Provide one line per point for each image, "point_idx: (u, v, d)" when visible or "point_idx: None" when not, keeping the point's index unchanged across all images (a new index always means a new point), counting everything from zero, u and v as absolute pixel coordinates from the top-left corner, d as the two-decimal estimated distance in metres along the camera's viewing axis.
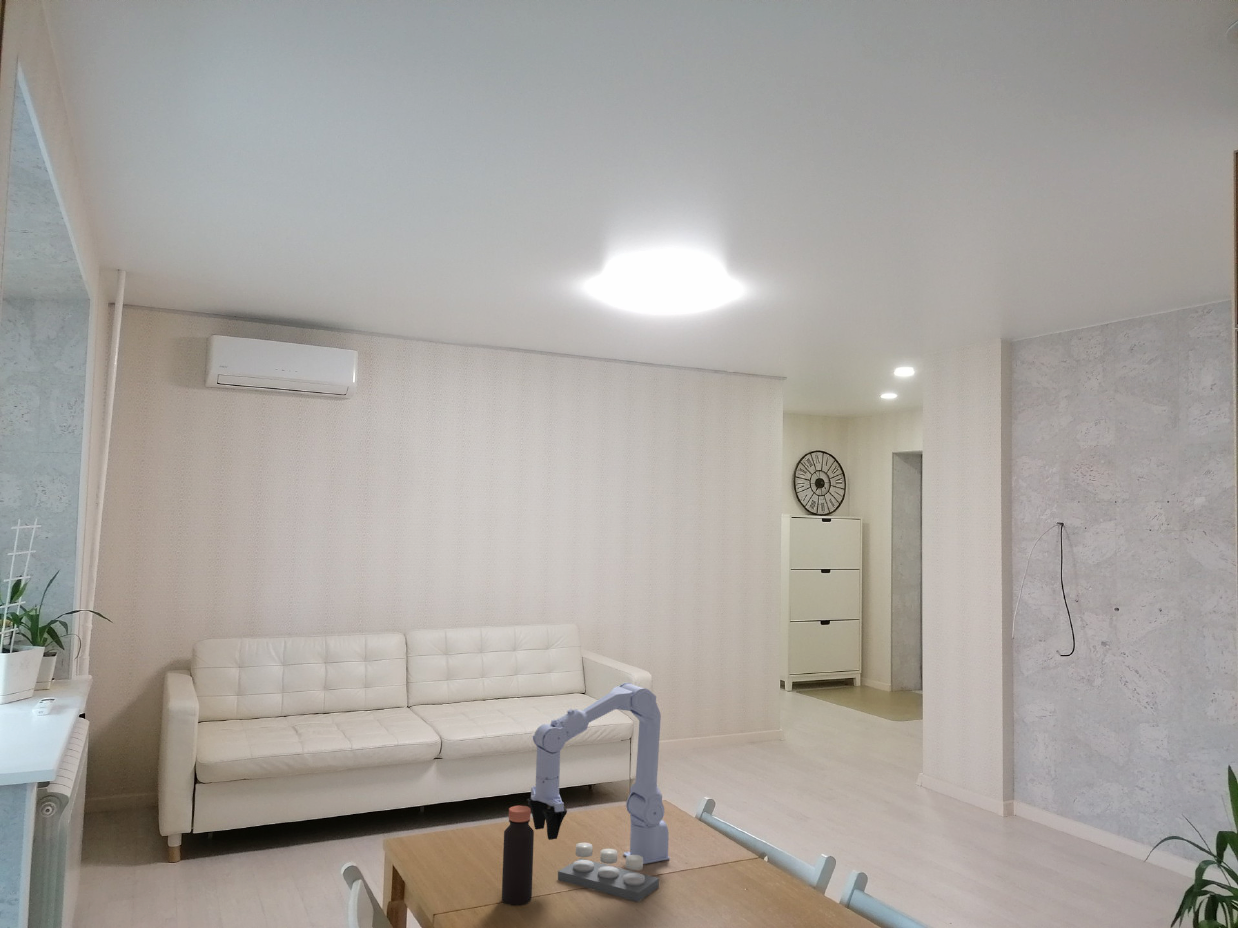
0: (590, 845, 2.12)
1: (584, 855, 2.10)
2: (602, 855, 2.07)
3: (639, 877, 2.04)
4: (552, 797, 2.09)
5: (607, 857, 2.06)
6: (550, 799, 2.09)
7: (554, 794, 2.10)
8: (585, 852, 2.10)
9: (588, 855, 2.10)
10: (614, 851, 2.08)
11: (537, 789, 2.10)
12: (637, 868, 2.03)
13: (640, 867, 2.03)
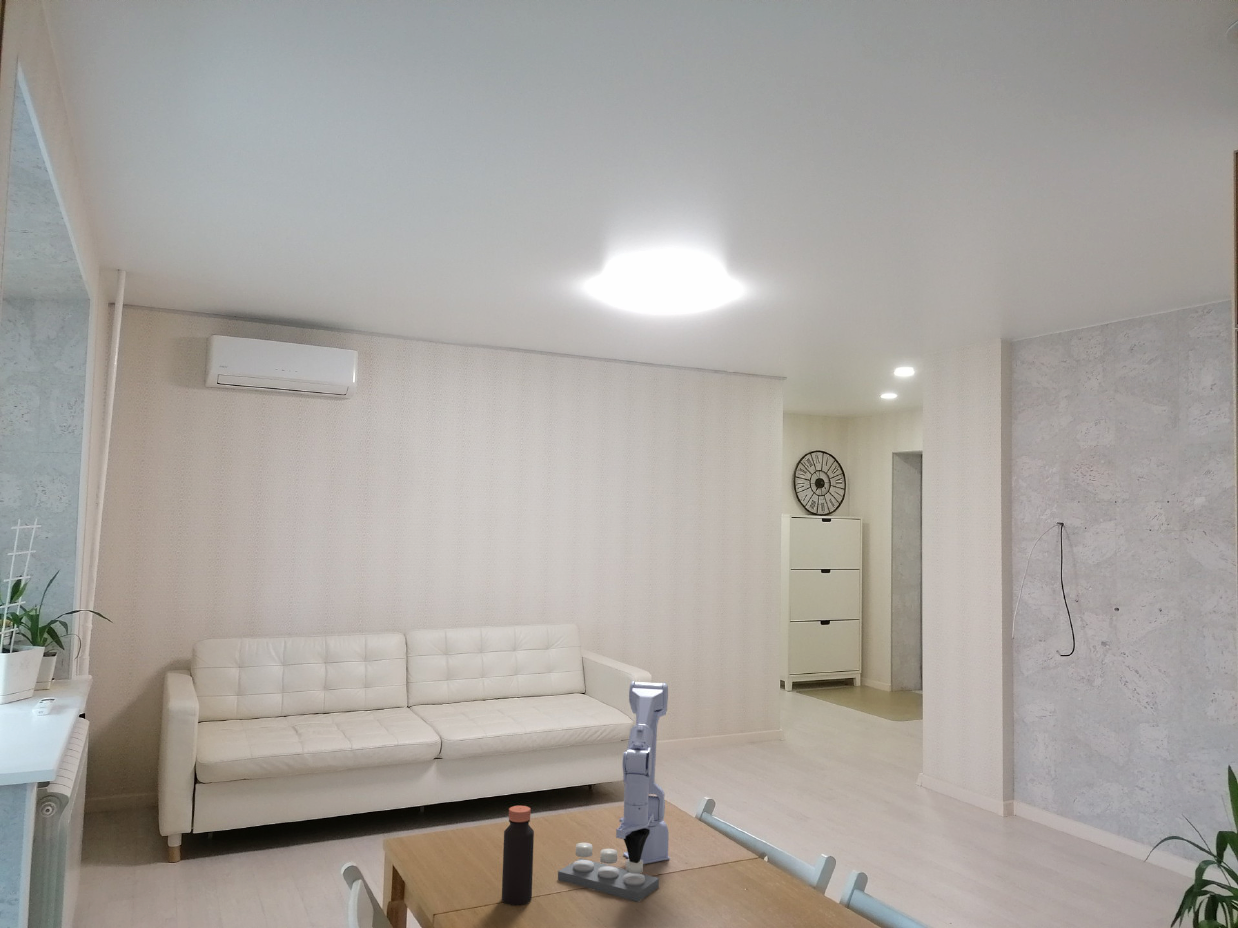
0: (590, 845, 2.12)
1: (584, 855, 2.10)
2: (602, 855, 2.07)
3: (639, 877, 2.04)
4: (629, 824, 2.03)
5: (607, 857, 2.06)
6: (627, 825, 2.03)
7: (632, 822, 2.03)
8: (585, 852, 2.10)
9: (588, 855, 2.10)
10: (614, 851, 2.08)
11: None
12: (637, 871, 2.03)
13: (640, 870, 2.03)
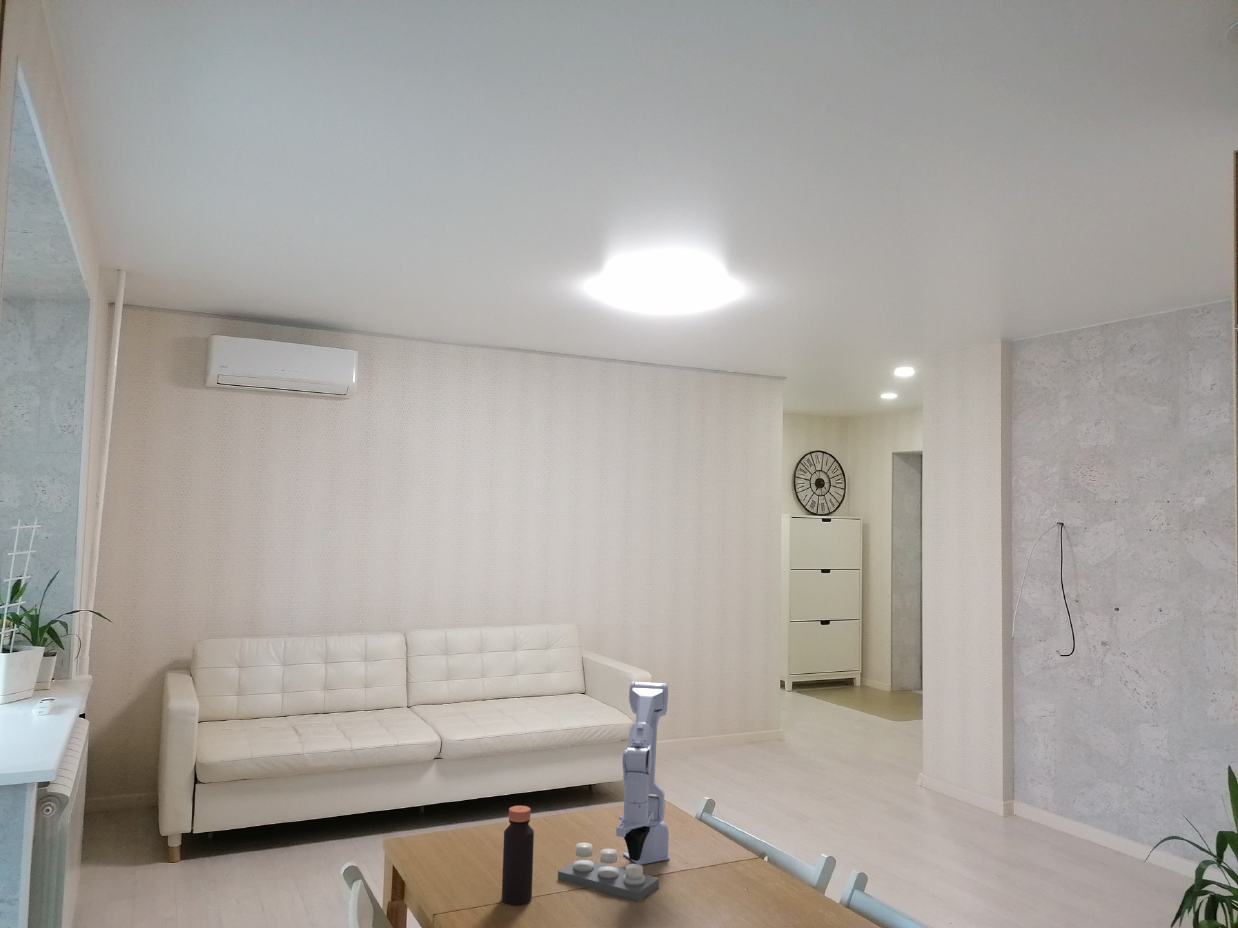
0: (590, 845, 2.12)
1: (584, 855, 2.10)
2: (602, 855, 2.07)
3: None
4: (629, 821, 2.03)
5: (607, 857, 2.06)
6: (627, 823, 2.03)
7: (632, 820, 2.03)
8: (585, 852, 2.10)
9: (588, 855, 2.10)
10: (614, 851, 2.08)
11: None
12: (637, 877, 2.03)
13: (640, 876, 2.03)
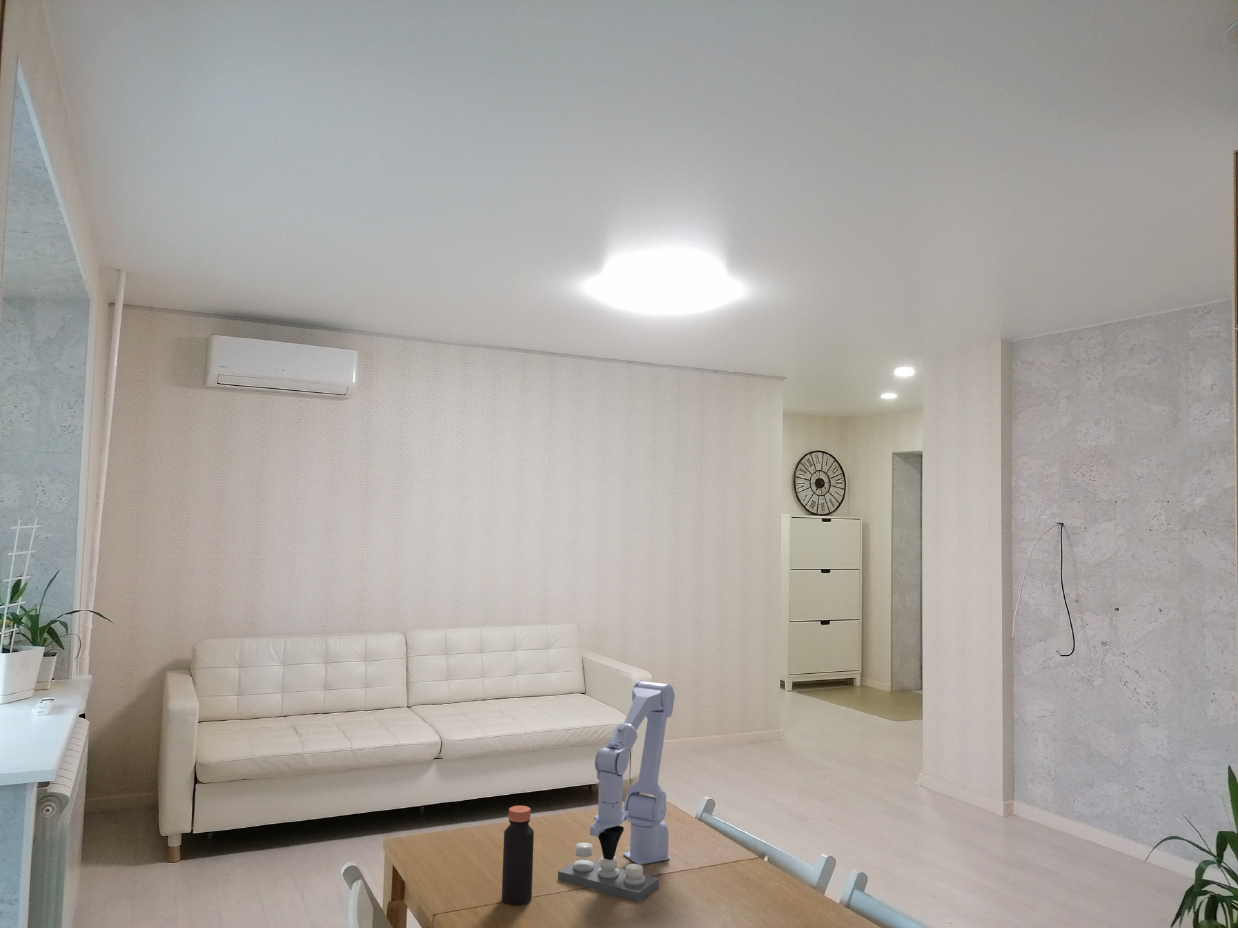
0: (590, 845, 2.12)
1: (584, 855, 2.10)
2: (602, 862, 2.07)
3: None
4: (603, 821, 2.06)
5: (607, 863, 2.06)
6: (601, 822, 2.06)
7: (606, 819, 2.06)
8: (585, 852, 2.10)
9: (588, 855, 2.10)
10: (614, 858, 2.08)
11: None
12: (637, 877, 2.03)
13: (640, 876, 2.03)
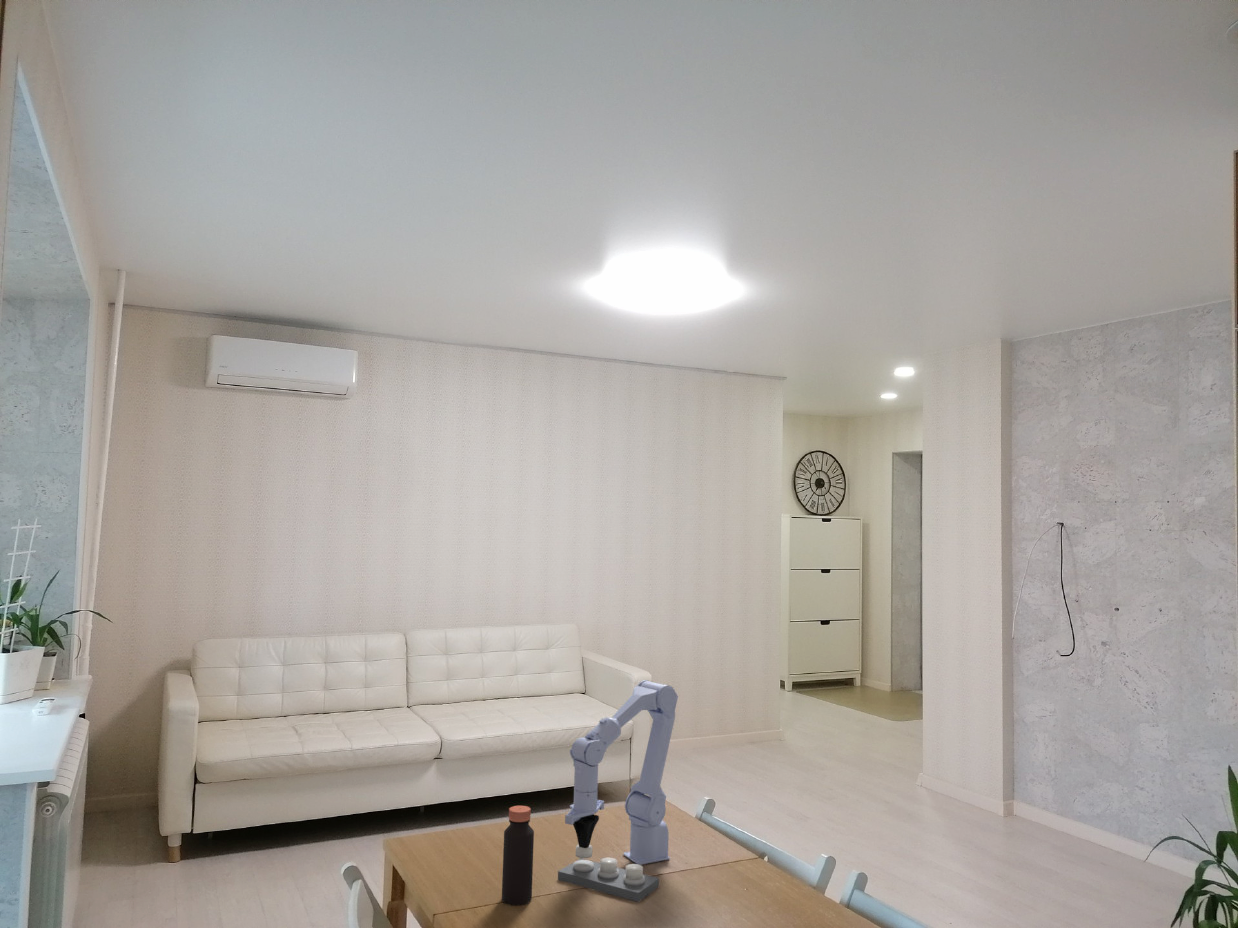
0: (590, 847, 2.11)
1: (584, 856, 2.10)
2: (602, 864, 2.07)
3: None
4: (578, 810, 2.10)
5: (607, 866, 2.06)
6: (576, 811, 2.10)
7: (581, 808, 2.10)
8: (585, 853, 2.10)
9: (588, 856, 2.10)
10: (614, 860, 2.08)
11: None
12: (637, 877, 2.03)
13: (640, 876, 2.03)
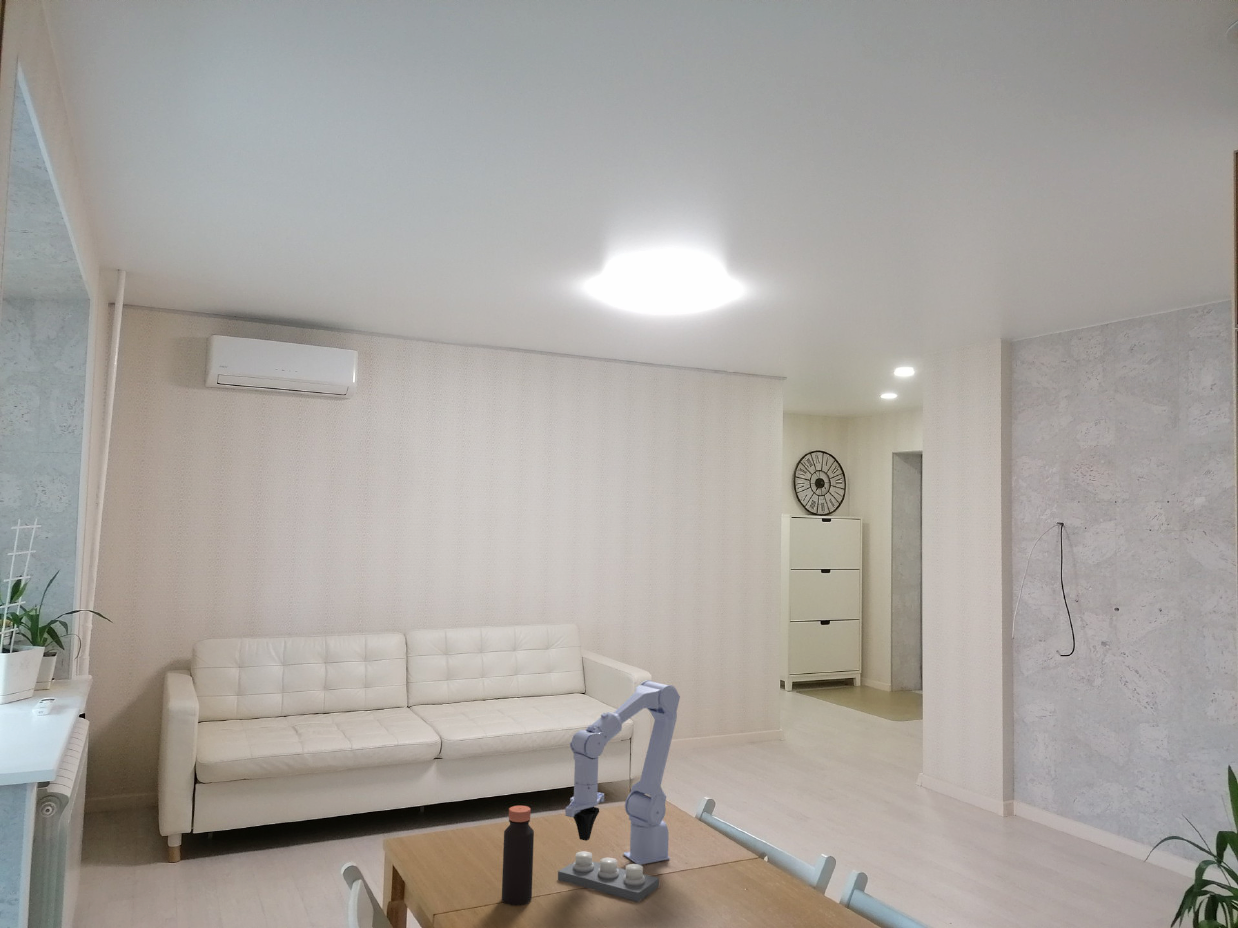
0: (589, 854, 2.11)
1: (584, 864, 2.10)
2: (602, 864, 2.07)
3: None
4: (579, 802, 2.10)
5: (607, 866, 2.06)
6: None
7: (581, 801, 2.10)
8: (585, 861, 2.10)
9: (588, 864, 2.10)
10: (614, 860, 2.08)
11: None
12: (637, 877, 2.03)
13: (640, 876, 2.03)
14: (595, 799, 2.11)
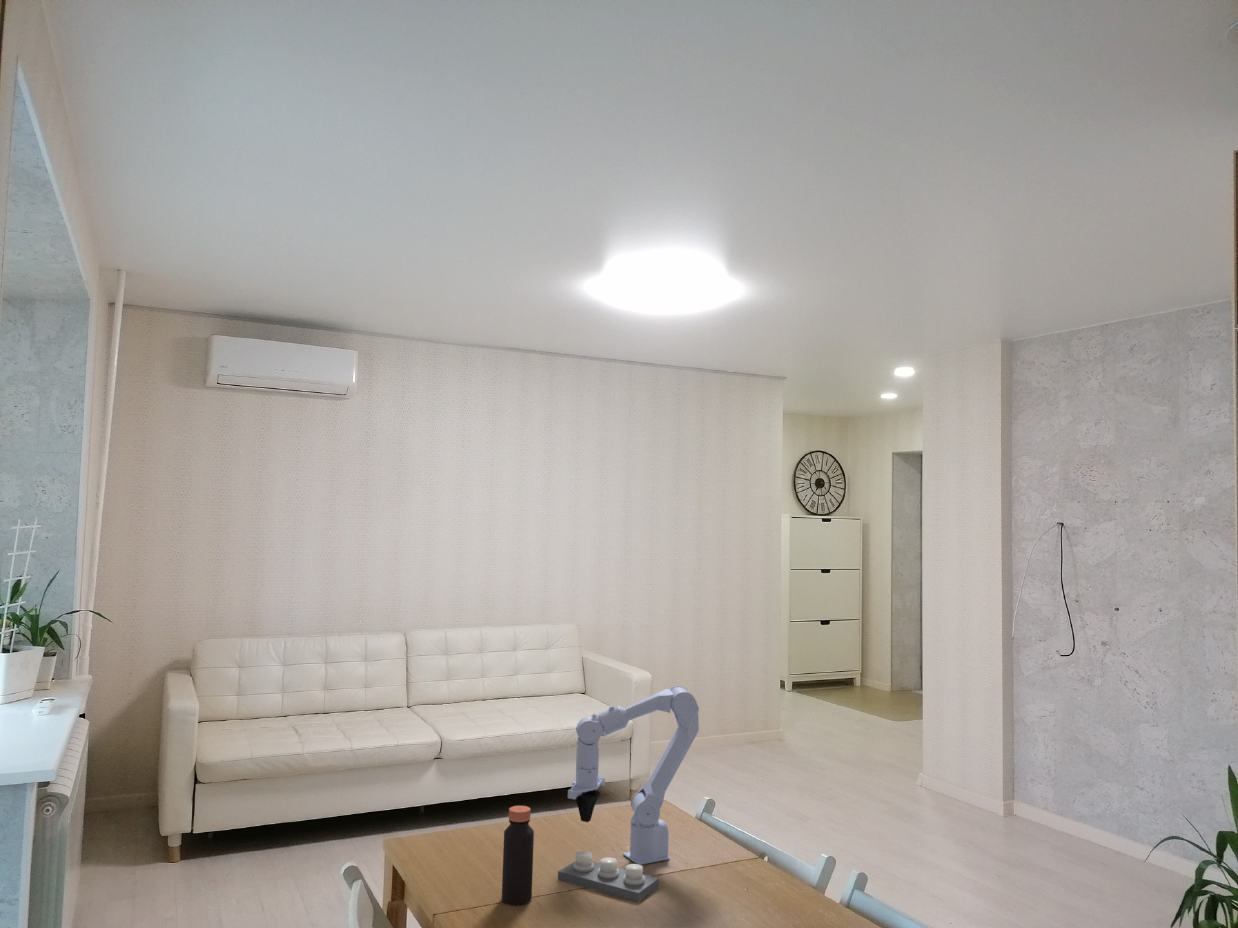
0: (589, 854, 2.11)
1: (584, 864, 2.10)
2: (602, 864, 2.07)
3: None
4: (580, 786, 2.21)
5: (607, 866, 2.06)
6: None
7: (583, 784, 2.21)
8: (585, 861, 2.10)
9: (588, 864, 2.10)
10: (614, 860, 2.08)
11: None
12: (637, 877, 2.03)
13: (640, 876, 2.03)
14: (596, 783, 2.23)
